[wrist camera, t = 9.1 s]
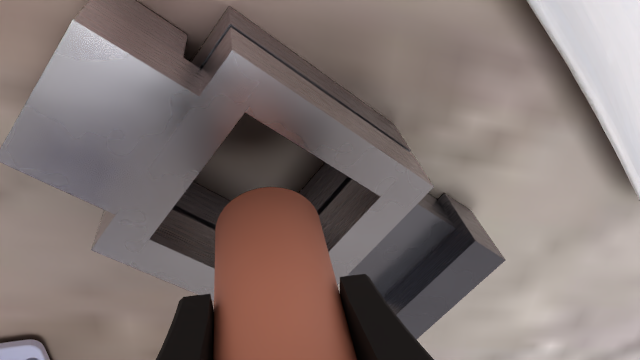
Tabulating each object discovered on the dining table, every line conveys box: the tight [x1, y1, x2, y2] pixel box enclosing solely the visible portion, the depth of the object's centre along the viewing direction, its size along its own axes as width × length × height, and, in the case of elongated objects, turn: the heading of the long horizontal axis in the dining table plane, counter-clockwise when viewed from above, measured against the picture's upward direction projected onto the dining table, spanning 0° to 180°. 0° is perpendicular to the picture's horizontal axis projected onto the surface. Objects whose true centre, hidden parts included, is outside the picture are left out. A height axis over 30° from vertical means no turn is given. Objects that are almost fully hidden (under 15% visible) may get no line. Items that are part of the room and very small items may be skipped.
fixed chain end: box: [172, 6, 505, 339], centre depth 19 cm, size 13×7×3 cm, turn 51°
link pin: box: [213, 187, 357, 360], centre depth 11 cm, size 3×3×8 cm
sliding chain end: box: [0, 0, 434, 301], centre depth 17 cm, size 11×7×4 cm
